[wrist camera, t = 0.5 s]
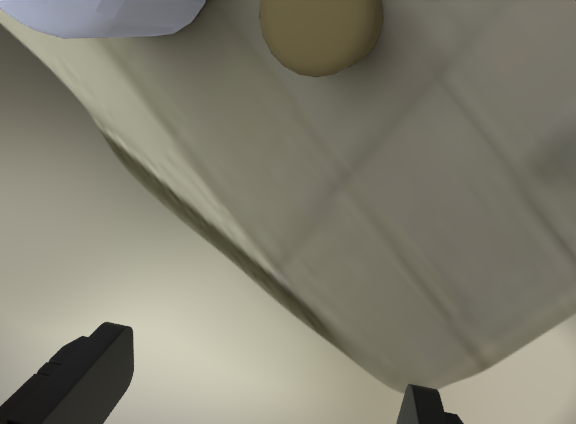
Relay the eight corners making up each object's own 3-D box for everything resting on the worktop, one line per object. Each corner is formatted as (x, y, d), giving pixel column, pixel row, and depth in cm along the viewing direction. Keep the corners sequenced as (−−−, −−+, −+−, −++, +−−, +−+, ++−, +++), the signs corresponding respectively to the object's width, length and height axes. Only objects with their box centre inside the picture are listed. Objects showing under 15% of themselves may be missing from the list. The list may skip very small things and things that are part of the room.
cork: (272, 11, 27) (212, 0, 17) (348, -57, 24) (329, -117, 14) (325, 87, 28) (297, 118, 18) (401, 29, 26) (417, 29, 16)
